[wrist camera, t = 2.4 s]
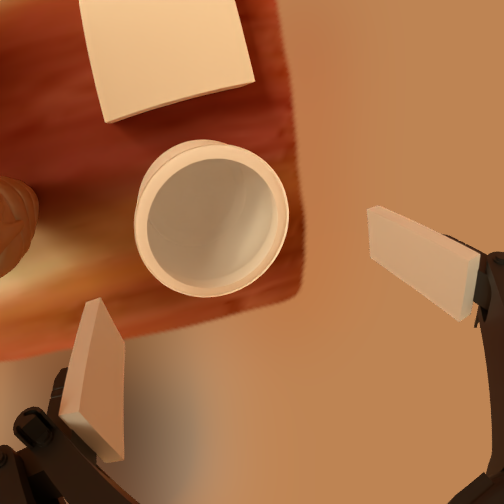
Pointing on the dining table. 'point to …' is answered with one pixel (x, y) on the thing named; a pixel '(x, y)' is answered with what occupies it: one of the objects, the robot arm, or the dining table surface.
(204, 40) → the cream block
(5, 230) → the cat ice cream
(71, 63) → the dining table surface
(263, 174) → the jar
